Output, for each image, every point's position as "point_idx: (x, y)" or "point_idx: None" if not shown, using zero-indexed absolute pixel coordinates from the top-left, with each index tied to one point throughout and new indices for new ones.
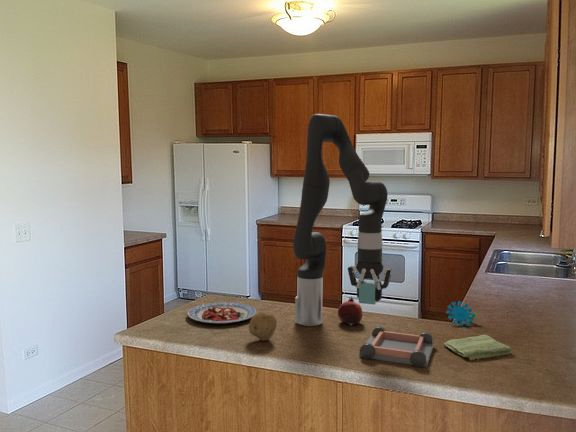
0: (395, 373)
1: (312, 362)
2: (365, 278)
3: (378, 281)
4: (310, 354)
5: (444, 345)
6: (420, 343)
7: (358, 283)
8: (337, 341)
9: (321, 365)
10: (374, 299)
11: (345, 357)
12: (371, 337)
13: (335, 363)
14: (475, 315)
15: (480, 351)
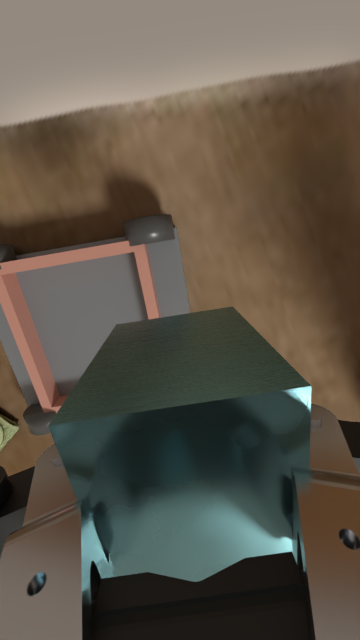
0: (26, 159)
1: (293, 87)
2: (262, 563)
3: (16, 547)
4: (323, 158)
5: (14, 423)
6: (22, 354)
7: (331, 445)
8: (281, 312)
9: (255, 79)
10: (109, 337)
11: (212, 200)
12: None
13: (220, 128)
14: None
15: None
